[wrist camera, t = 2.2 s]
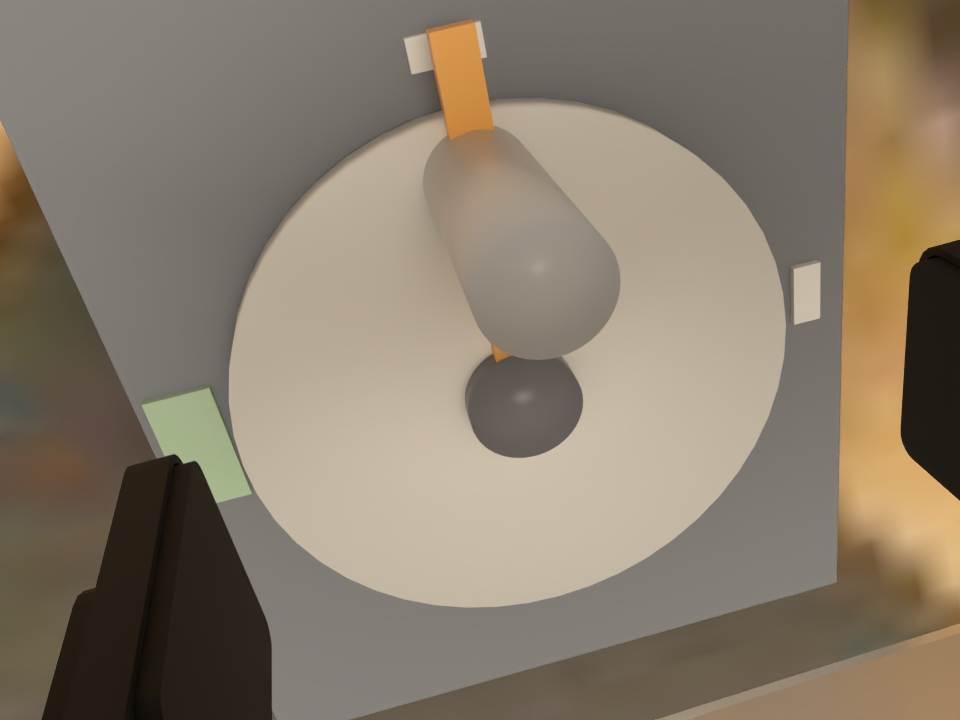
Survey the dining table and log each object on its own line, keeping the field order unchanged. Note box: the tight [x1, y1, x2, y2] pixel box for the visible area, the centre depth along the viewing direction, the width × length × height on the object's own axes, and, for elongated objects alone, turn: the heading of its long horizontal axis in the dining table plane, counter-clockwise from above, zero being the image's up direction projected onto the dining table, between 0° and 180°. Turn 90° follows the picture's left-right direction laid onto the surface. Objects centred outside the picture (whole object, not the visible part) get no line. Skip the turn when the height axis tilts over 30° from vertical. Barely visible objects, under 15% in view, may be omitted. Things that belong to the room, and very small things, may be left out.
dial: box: [229, 19, 786, 608], centre depth 21 cm, size 17×15×8 cm
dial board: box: [0, 0, 849, 720], centre depth 25 cm, size 20×24×2 cm
